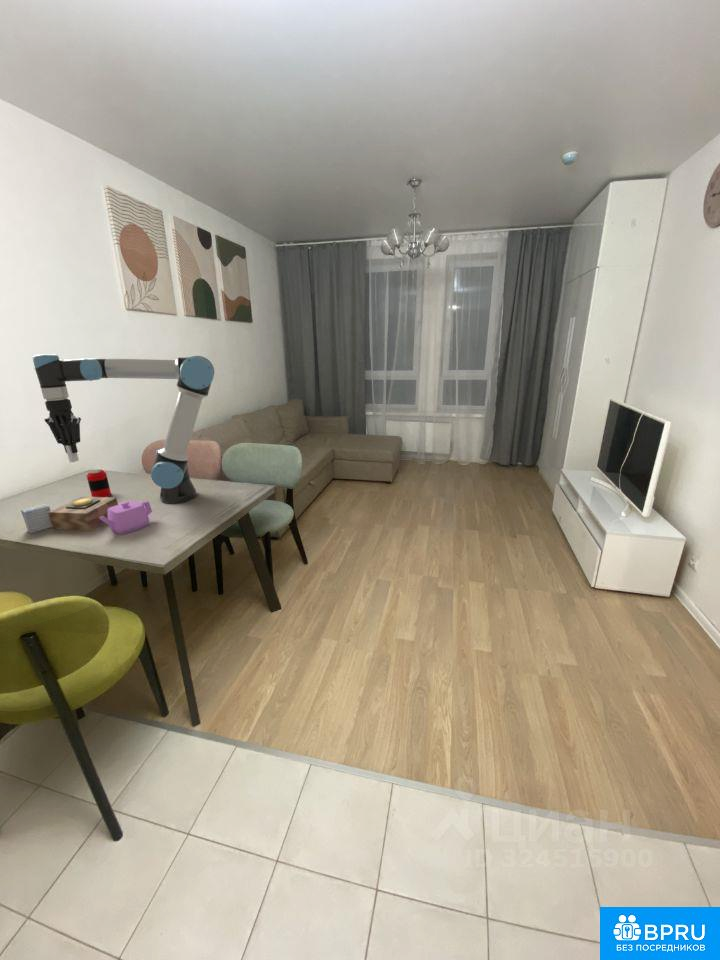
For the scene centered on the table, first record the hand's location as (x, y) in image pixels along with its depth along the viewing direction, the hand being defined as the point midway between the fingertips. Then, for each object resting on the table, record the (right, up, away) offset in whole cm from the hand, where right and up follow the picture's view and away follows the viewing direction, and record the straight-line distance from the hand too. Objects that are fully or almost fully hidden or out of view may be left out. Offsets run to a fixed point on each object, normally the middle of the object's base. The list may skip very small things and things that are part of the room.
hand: (74, 461), depth 153 cm
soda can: (-11, -15, +33) cm, 38 cm away
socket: (+1, -24, +7) cm, 24 cm away
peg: (+1, -24, +7) cm, 24 cm away
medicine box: (-13, -26, +1) cm, 29 cm away
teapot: (+21, -26, 0) cm, 33 cm away
